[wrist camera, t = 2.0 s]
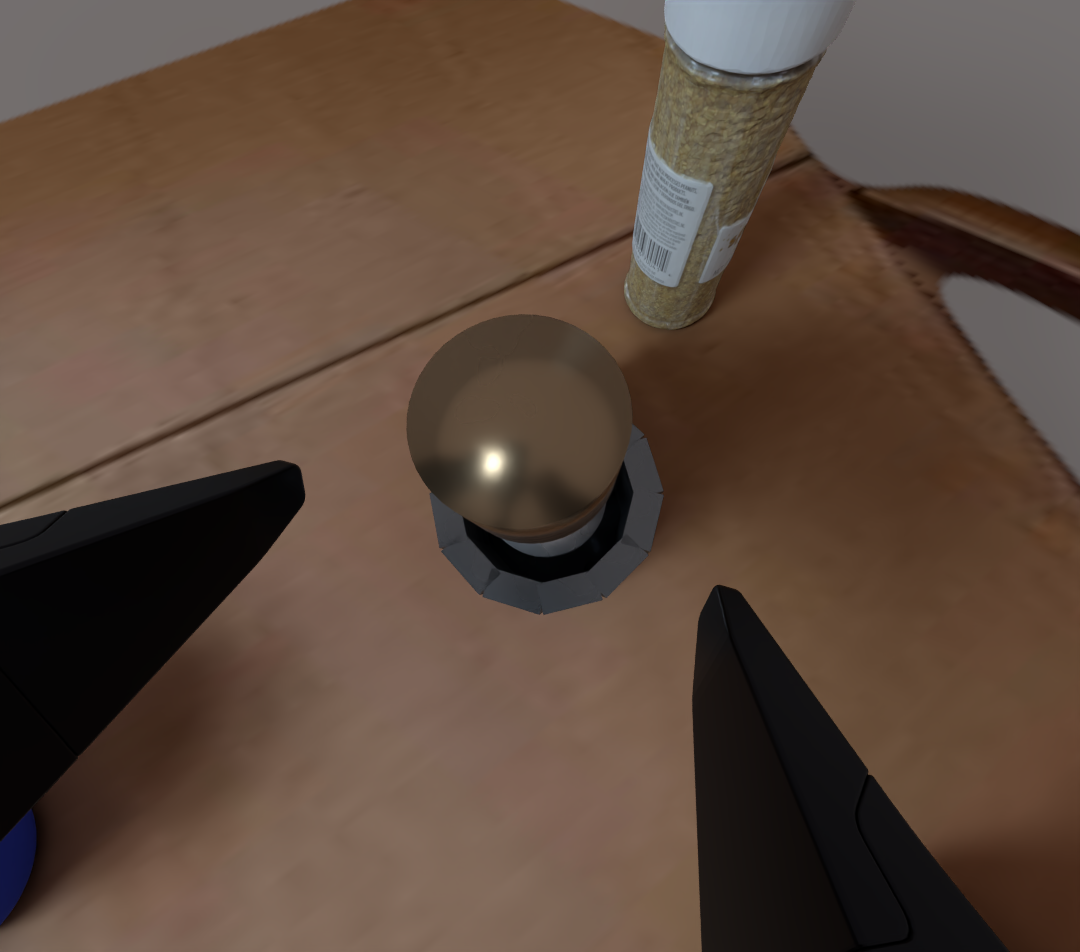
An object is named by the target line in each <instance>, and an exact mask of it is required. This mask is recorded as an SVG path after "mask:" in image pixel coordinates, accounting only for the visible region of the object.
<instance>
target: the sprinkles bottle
mask: <svg viewBox="0 0 1080 952" xmlns="http://www.w3.org/2000/svg"><path fill="white" fill-rule="evenodd" d="M855 2H856V0H665V10H664V14H665V34H664V38H665V50H664V54H663V61H662V68H661V74H660V80H659V86H658V93H657V98H656V102H655V110H654V114H653V117H652V120H651V124H650V129H649V134H648V141H647V147H646V154H645V160H644V167H643V174H642V180H641V187H640V193H639V200H638V206H637V213H636V220H635V226H634V233H633V242H632V246H633V251H632V256H631V266H630V270H629V272H628V273H627V276H626V279H625V284H624V295H625V299H626V302H627V304H628V306H629V307H630V309H631V311H632V313H633V314H634V315H635V316H636V317H637V318H639V319H640V320H641V321H642V322H644V323H646V324H648V325H650V326H653V327H656V328H663V329H672V330H675V329H678V328H683V327H686V326H688V325H691V324H692V323H693V322H695V321H697V320H698V319H700V318H701V317H702V316H703V315H704V314H705V313H706V312H707V311H708V309H709V308H710V306H711V305H712V303H713V300H714V297H715V294H716V288H717V286H718V284H719V281H720V279H721V276H722V274H723V272H724V270H725V268H726V266H727V265H728V263H729V262H730V260H731V258H732V256H733V254H734V251H735V249H736V247H737V245H738V242H739V240H740V238H741V236H742V233H743V231H744V229H745V226H746V224H747V222H748V220H749V218H750V216H751V213H752V211H753V209H754V207H755V205H756V202H757V200H758V198H759V195H760V193H761V191H762V189H763V187H764V185H765V183H766V180H767V178H768V176H769V173H770V171H771V169H772V166H773V163H774V160H775V157H776V153H777V151H778V149H779V147H780V145H781V142H782V141H783V138H784V136H785V134H786V132H787V130H788V128H789V125H790V123H791V121H792V119H793V117H794V114H795V112H796V110H797V107H798V105H799V103H800V101H801V99H802V97H803V95H804V93H805V90H806V88H807V86H808V83H809V80H810V79H811V78H812V75H813V72H814V70H815V67H816V66H817V65H818V64H819V62H820V61H821V59H822V57H823V56H824V55H825V53H826V50H827V47H829V46H830V45H831V44H832V43H833V42H834V40H835V39H836V38H837V37H838V35H839V34H840V32H841V31H842V29H843V27H844V25H845V23H846V21H847V18H848V17H849V14H850V12H851V10H852V8H853V6H854V4H855Z"/></svg>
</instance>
